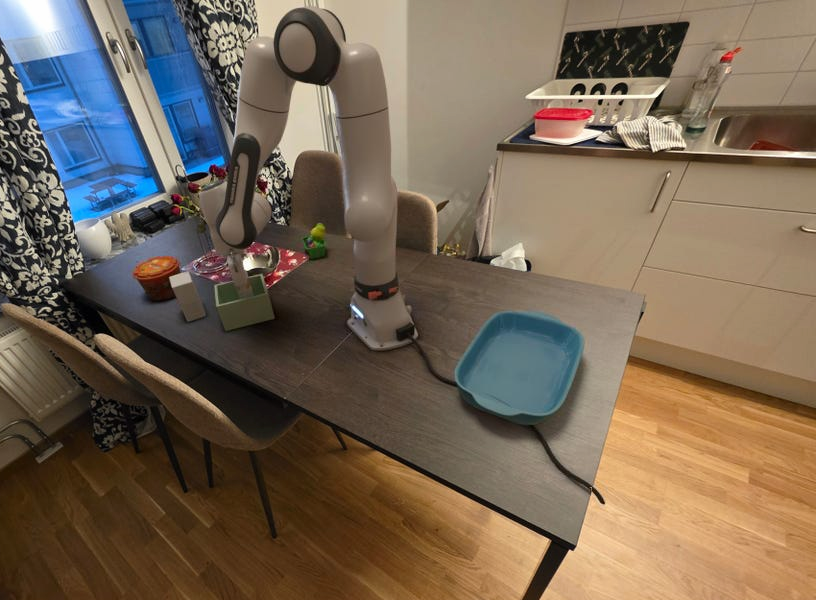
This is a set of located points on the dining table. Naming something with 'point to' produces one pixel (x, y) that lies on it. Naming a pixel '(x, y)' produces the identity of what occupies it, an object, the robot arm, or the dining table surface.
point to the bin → (243, 304)
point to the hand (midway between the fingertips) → (242, 285)
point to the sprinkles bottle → (248, 287)
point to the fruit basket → (315, 242)
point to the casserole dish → (520, 366)
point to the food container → (157, 276)
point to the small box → (187, 296)
